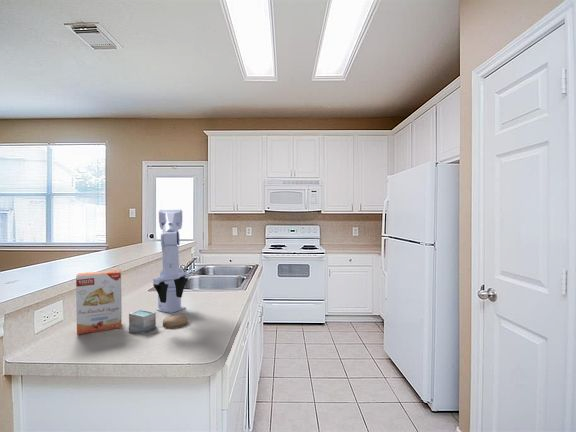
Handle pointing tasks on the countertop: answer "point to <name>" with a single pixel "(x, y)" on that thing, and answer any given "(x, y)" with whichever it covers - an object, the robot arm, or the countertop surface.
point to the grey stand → (141, 330)
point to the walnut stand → (175, 321)
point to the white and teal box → (142, 319)
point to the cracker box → (98, 301)
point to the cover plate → (141, 313)
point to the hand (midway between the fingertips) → (171, 299)
